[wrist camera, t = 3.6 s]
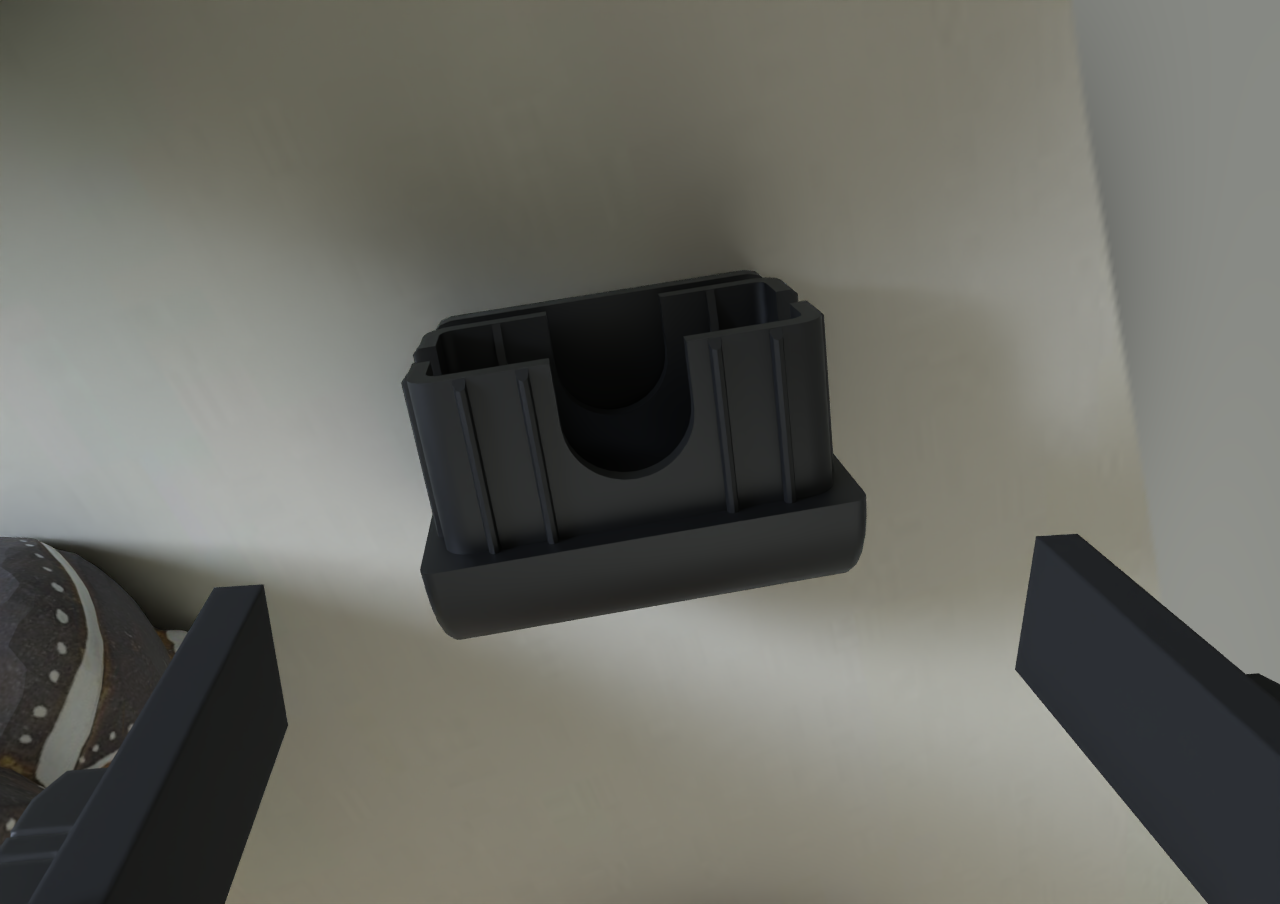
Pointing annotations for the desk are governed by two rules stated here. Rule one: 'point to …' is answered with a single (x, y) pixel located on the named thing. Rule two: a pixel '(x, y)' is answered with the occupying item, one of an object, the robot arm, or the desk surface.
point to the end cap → (627, 453)
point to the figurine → (67, 669)
